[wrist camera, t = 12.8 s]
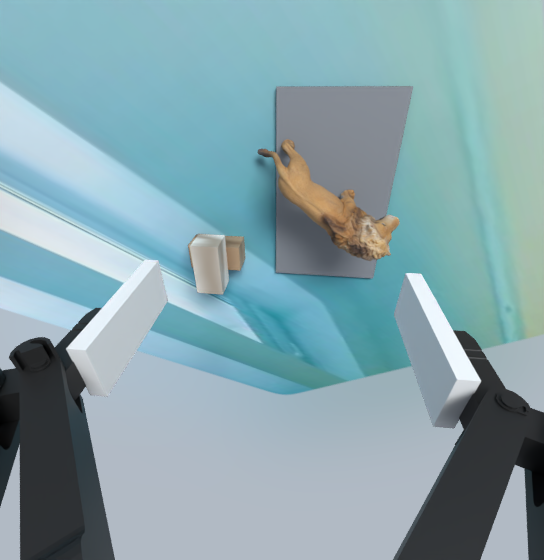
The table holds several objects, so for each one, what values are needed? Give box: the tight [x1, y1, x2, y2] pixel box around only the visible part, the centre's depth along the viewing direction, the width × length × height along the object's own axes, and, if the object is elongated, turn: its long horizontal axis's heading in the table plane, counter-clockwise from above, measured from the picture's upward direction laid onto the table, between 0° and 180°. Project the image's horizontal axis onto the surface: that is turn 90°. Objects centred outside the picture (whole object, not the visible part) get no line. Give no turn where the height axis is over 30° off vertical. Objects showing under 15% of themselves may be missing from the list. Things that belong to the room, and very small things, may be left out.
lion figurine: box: [258, 139, 399, 261], centre depth 29 cm, size 15×5×9 cm, turn 62°
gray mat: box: [276, 86, 413, 278], centre depth 33 cm, size 12×20×1 cm, turn 0°
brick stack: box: [188, 234, 245, 294], centre depth 36 cm, size 6×6×6 cm
